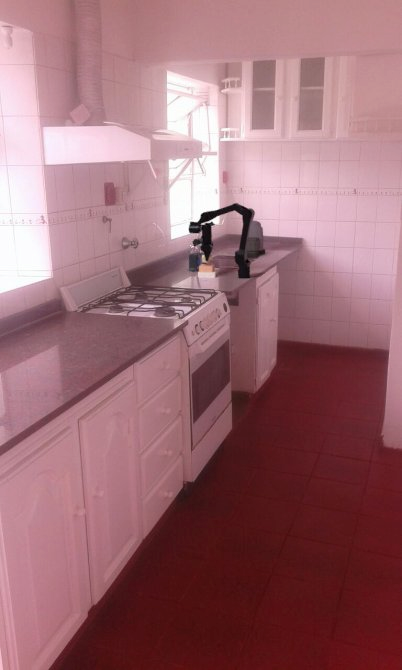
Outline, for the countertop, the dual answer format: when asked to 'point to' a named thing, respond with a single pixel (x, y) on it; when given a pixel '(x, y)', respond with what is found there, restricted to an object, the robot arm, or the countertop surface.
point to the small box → (195, 261)
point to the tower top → (206, 267)
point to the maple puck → (205, 259)
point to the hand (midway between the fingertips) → (207, 260)
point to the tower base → (207, 274)
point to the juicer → (255, 240)
